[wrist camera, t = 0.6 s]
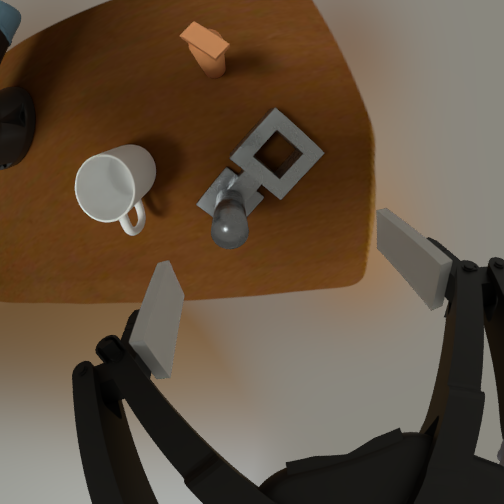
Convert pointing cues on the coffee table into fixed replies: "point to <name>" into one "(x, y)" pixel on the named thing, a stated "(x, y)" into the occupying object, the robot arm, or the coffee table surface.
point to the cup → (116, 185)
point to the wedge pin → (207, 49)
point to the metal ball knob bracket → (255, 178)
